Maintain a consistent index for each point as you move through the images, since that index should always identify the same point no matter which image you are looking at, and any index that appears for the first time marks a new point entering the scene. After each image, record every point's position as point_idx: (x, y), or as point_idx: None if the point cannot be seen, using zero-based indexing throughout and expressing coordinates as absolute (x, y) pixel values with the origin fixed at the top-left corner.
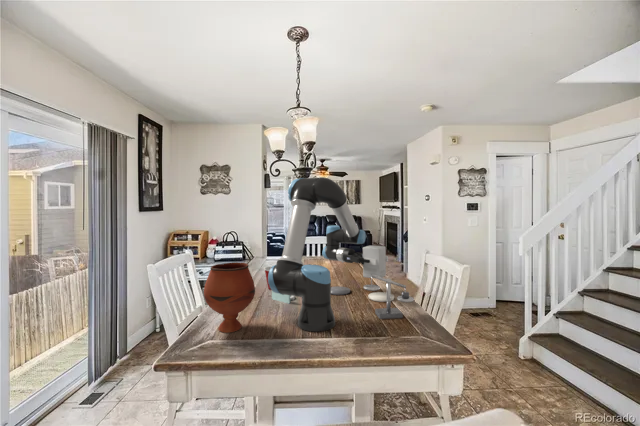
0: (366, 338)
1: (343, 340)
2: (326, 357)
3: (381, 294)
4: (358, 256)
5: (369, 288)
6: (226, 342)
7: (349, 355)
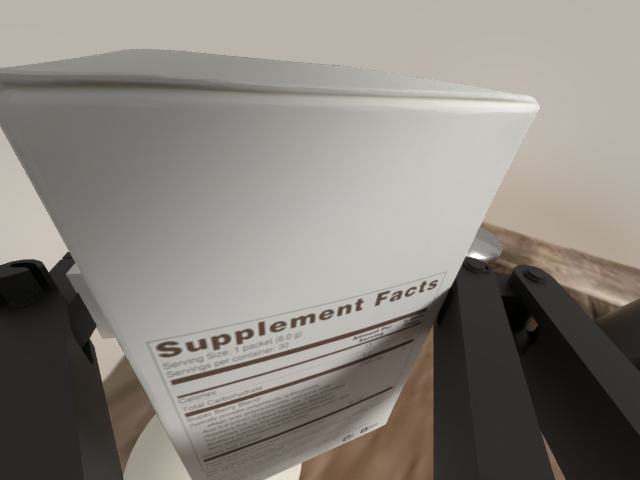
0: (498, 258)
1: (555, 274)
2: (595, 256)
3: (187, 474)
4: (510, 410)
5: (484, 229)
6: None
7: (548, 243)
